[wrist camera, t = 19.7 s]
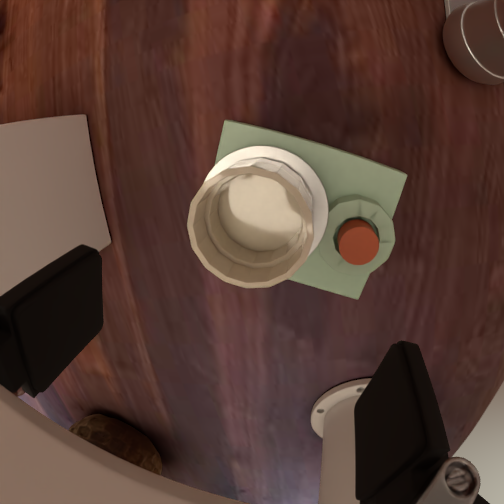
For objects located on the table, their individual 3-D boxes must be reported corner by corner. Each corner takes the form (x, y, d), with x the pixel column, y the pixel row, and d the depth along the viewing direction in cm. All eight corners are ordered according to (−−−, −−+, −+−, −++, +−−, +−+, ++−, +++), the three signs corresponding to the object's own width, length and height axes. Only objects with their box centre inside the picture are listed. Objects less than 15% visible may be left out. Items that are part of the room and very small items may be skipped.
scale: (405, 172, 23) (418, 180, 19) (359, 290, 27) (364, 311, 24) (230, 119, 24) (218, 119, 20) (204, 243, 28) (190, 260, 25)
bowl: (326, 175, 20) (330, 188, 16) (296, 269, 23) (291, 302, 19) (222, 146, 21) (199, 153, 17) (203, 241, 24) (180, 267, 20)
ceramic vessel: (27, 378, 32) (60, 561, 16) (174, 392, 48) (224, 532, 32) (19, 423, 41) (43, 545, 25) (127, 431, 57) (160, 536, 41)
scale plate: (345, 167, 20) (345, 167, 20) (305, 284, 24) (305, 286, 24) (214, 131, 21) (212, 131, 21) (191, 249, 25) (189, 251, 24)
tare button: (380, 225, 22) (385, 234, 20) (366, 259, 23) (370, 270, 21) (344, 213, 22) (346, 221, 20) (332, 249, 23) (333, 258, 21)
